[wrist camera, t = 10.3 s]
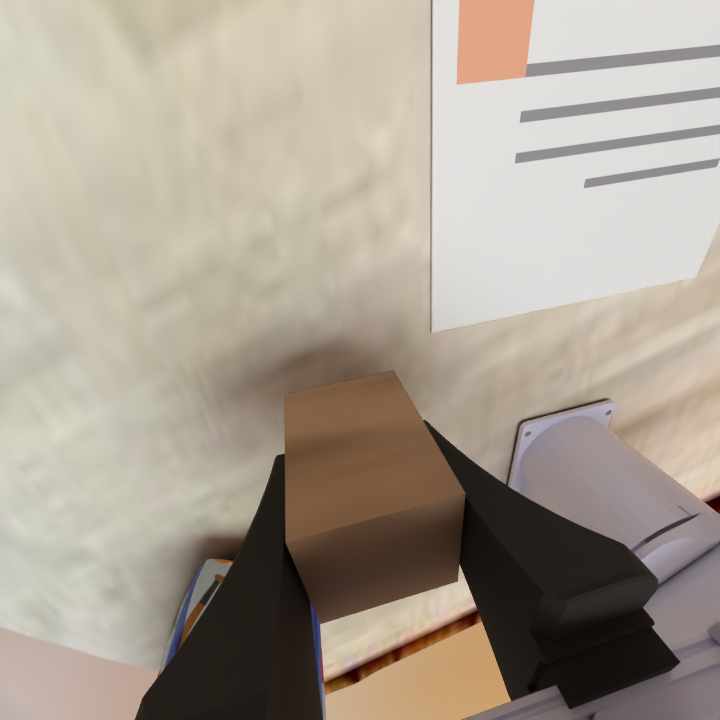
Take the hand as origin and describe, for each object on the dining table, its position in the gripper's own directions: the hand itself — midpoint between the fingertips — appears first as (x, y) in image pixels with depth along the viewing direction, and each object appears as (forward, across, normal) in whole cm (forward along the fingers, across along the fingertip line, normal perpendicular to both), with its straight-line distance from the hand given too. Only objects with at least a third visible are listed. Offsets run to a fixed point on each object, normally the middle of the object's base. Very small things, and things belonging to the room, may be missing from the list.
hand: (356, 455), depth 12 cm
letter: (+7, -15, -8) cm, 18 cm away
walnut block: (+2, 0, 0) cm, 2 cm away
